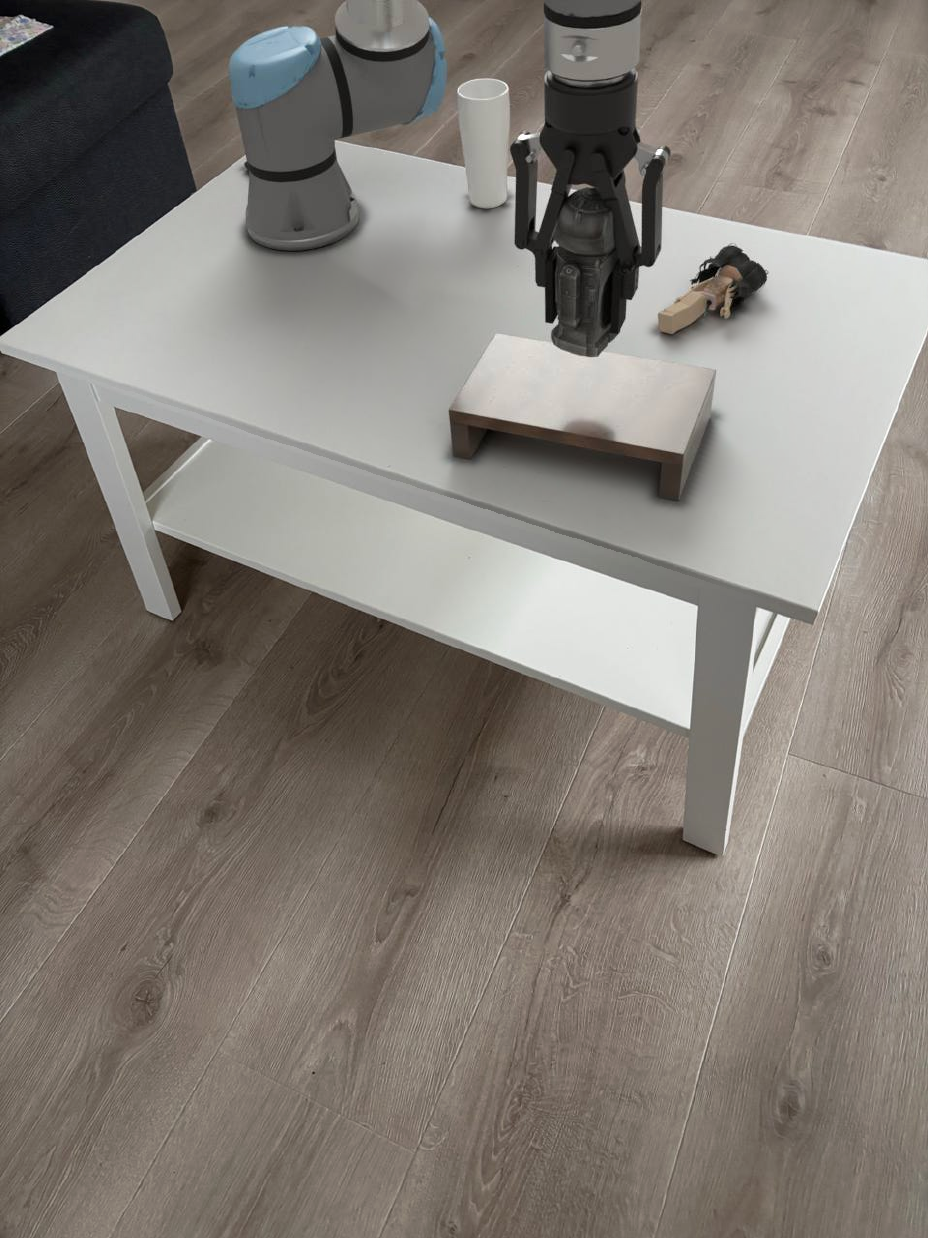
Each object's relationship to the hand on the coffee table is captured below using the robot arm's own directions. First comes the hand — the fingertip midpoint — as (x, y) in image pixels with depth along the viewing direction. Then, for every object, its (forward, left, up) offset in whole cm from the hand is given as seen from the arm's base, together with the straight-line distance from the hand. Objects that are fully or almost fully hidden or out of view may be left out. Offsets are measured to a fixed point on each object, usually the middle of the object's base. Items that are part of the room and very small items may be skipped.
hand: (585, 320), depth 104 cm
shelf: (0, 0, -14) cm, 14 cm away
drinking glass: (-41, +33, -14) cm, 55 cm away
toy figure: (-2, +28, -14) cm, 31 cm away
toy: (0, 0, -2) cm, 2 cm away
